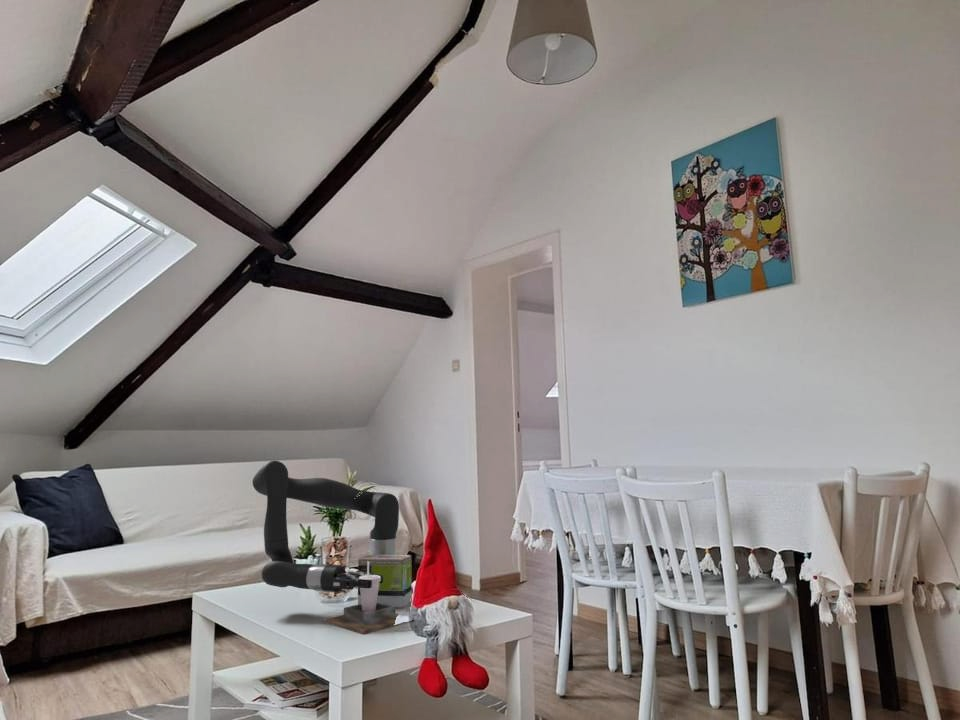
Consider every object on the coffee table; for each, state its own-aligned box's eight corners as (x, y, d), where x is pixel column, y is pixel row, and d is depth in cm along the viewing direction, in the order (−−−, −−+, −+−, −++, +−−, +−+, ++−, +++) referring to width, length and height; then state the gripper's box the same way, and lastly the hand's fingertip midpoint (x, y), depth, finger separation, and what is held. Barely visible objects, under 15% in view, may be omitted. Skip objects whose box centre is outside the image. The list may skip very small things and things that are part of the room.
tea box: (412, 601, 200) (412, 554, 202) (402, 609, 190) (403, 559, 192) (368, 599, 202) (369, 553, 204) (356, 607, 192) (357, 558, 195)
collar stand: (375, 610, 188) (375, 597, 189) (414, 620, 176) (414, 606, 177) (324, 622, 175) (324, 608, 176) (362, 634, 163) (363, 619, 164)
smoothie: (361, 608, 180) (362, 559, 182) (382, 609, 179) (384, 559, 181) (354, 614, 173) (356, 563, 175) (376, 615, 172) (378, 563, 175)
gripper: (313, 568, 175) (365, 572, 170) (339, 560, 189) (388, 564, 184) (311, 596, 174) (364, 601, 169) (338, 586, 188) (387, 590, 183)
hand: (376, 581), depth 177 cm, fingers closed on smoothie, 6 cm apart
